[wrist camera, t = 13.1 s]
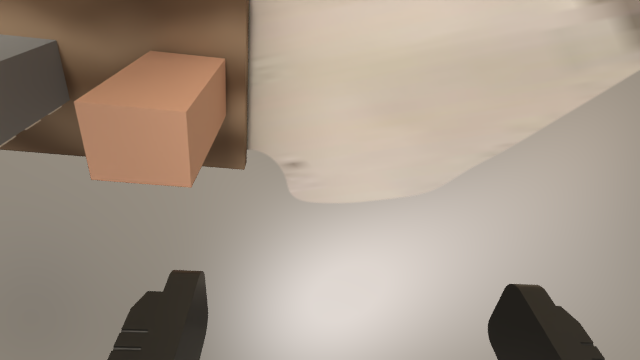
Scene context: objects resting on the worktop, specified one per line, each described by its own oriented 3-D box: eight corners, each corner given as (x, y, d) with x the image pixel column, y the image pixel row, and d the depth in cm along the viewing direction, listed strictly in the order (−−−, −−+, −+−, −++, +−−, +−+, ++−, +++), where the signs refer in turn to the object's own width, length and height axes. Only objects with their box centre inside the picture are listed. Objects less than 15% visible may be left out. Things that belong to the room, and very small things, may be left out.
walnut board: (-196, -69, 28) (-220, -70, 27) (249, -16, 31) (246, -14, 29) (-99, 133, 36) (-114, 140, 35) (246, 162, 39) (244, 169, 38)
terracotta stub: (150, 50, 31) (73, 101, 21) (225, 58, 32) (186, 112, 22) (156, 109, 34) (91, 179, 24) (226, 115, 35) (191, 187, 24)
